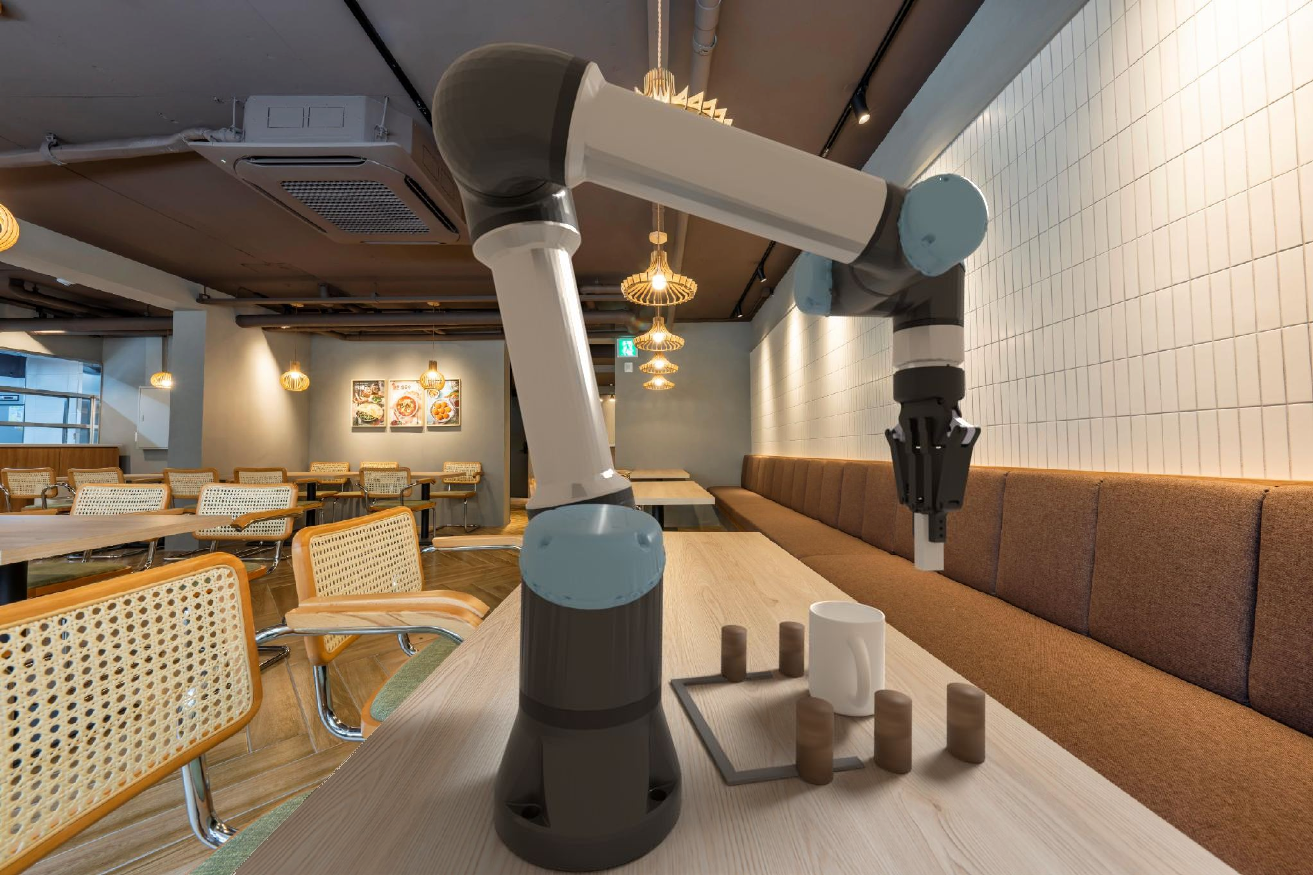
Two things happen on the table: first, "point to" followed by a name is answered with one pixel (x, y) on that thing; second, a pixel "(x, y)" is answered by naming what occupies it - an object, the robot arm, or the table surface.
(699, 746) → the table surface
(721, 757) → the frame
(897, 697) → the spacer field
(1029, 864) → the table surface
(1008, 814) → the table surface
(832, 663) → the mug
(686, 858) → the table surface
